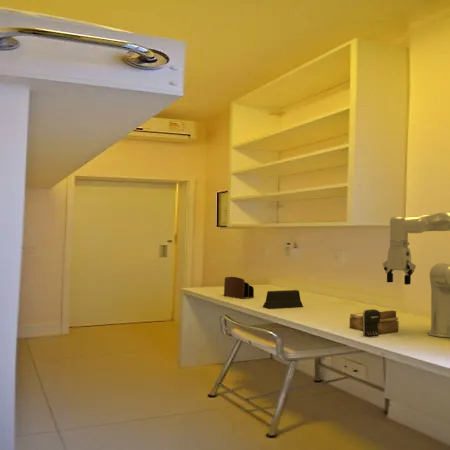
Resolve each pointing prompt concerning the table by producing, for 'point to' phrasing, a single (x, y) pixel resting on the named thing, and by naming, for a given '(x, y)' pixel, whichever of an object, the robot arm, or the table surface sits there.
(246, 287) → the letter holder
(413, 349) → the table surface
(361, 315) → the lid
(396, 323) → the brown shallow rectangular box
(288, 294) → the barrier
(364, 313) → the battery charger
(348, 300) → the table surface
